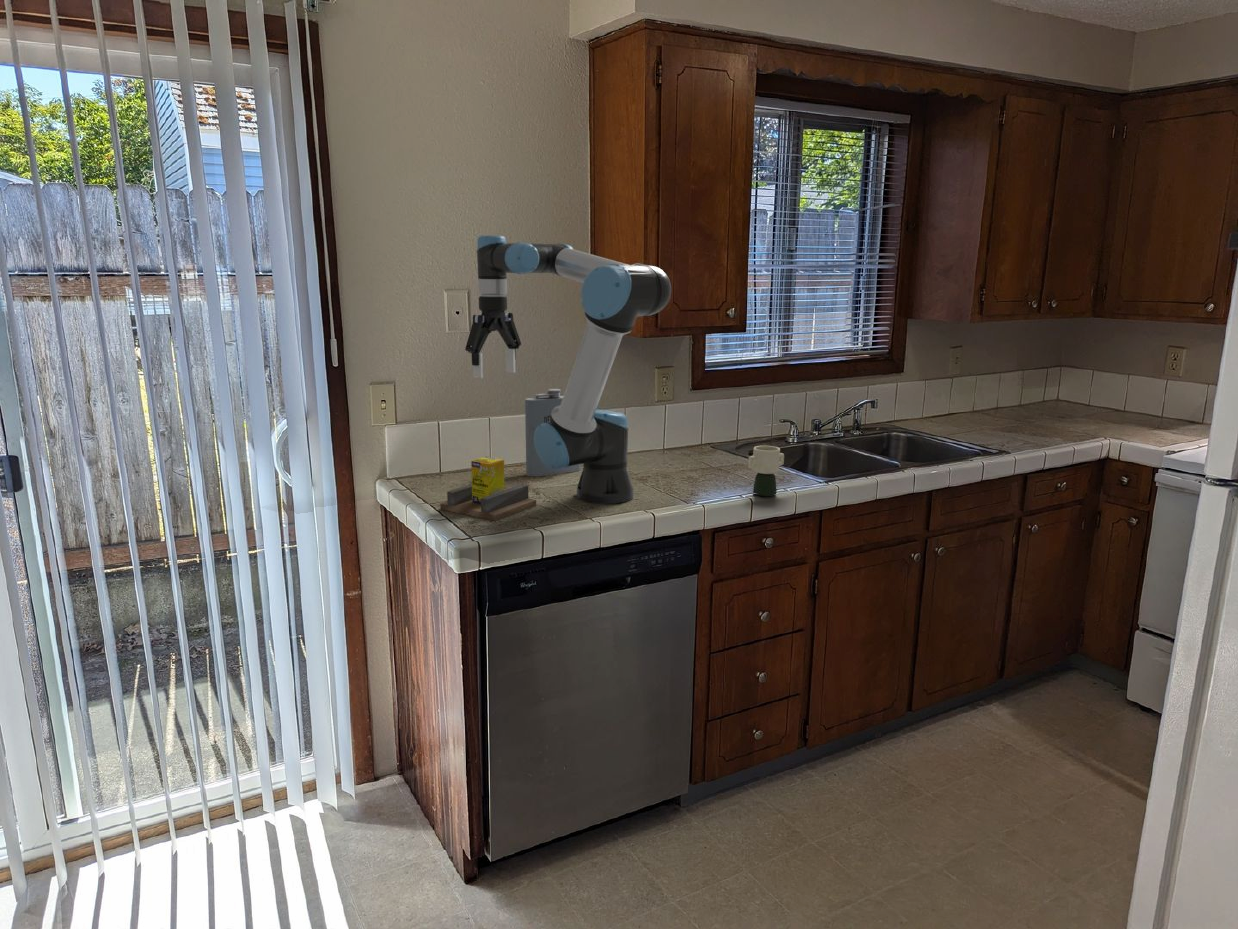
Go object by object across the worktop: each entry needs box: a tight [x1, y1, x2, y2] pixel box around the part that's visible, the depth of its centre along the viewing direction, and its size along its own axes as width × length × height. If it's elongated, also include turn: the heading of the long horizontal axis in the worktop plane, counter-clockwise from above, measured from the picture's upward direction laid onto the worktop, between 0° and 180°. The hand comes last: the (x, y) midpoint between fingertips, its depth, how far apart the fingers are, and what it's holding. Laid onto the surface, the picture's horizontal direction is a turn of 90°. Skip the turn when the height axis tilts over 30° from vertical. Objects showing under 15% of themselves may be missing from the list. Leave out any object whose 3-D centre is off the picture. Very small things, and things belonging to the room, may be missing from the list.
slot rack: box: [439, 483, 537, 522], centre depth 218 cm, size 18×16×5 cm
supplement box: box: [470, 456, 506, 504], centre depth 217 cm, size 6×6×11 cm
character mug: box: [747, 445, 785, 497], centre depth 230 cm, size 11×7×13 cm, turn 112°
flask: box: [524, 388, 582, 477], centre depth 252 cm, size 17×5×25 cm, turn 121°
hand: (494, 375), depth 234 cm, fingers open, 13 cm apart
